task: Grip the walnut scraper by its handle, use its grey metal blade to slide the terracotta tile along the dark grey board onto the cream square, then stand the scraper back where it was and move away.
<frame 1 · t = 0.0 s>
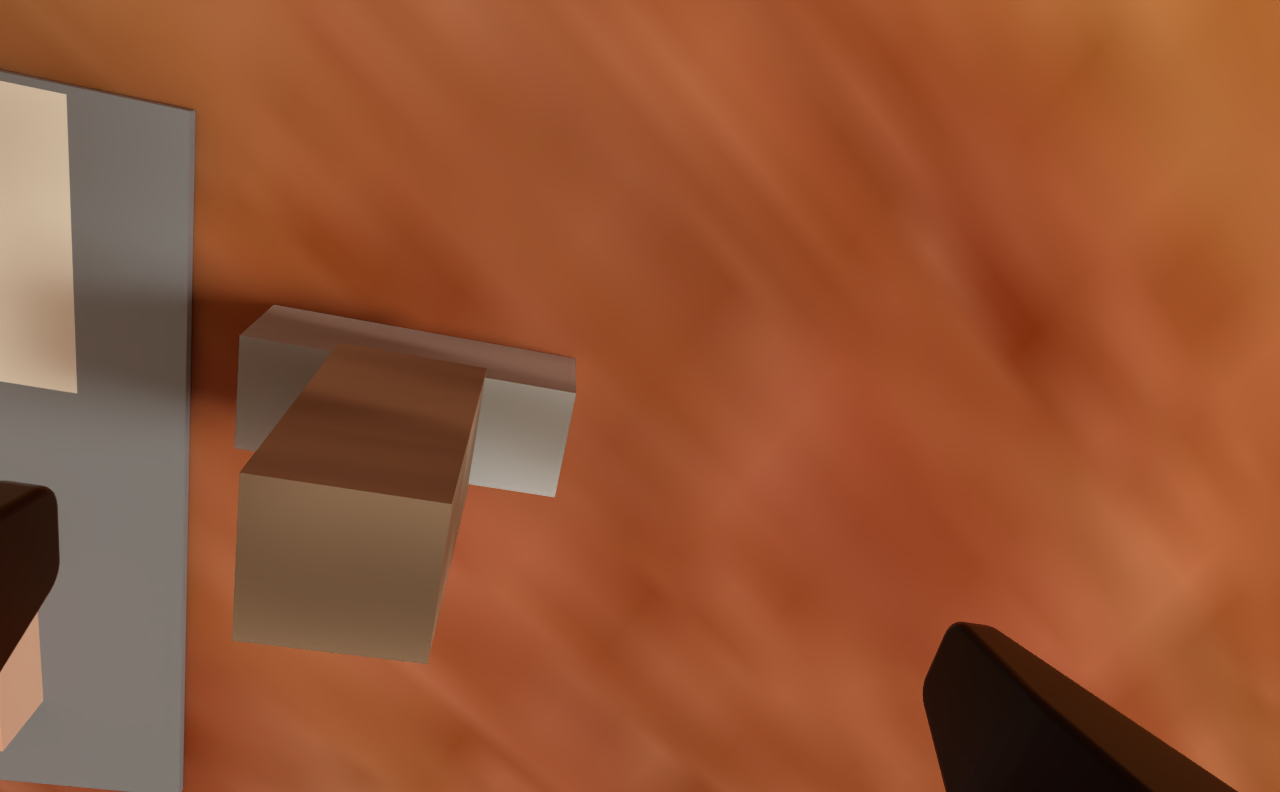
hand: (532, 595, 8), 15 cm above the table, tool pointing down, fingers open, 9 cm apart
scraper: (422, 382, 23), on the table
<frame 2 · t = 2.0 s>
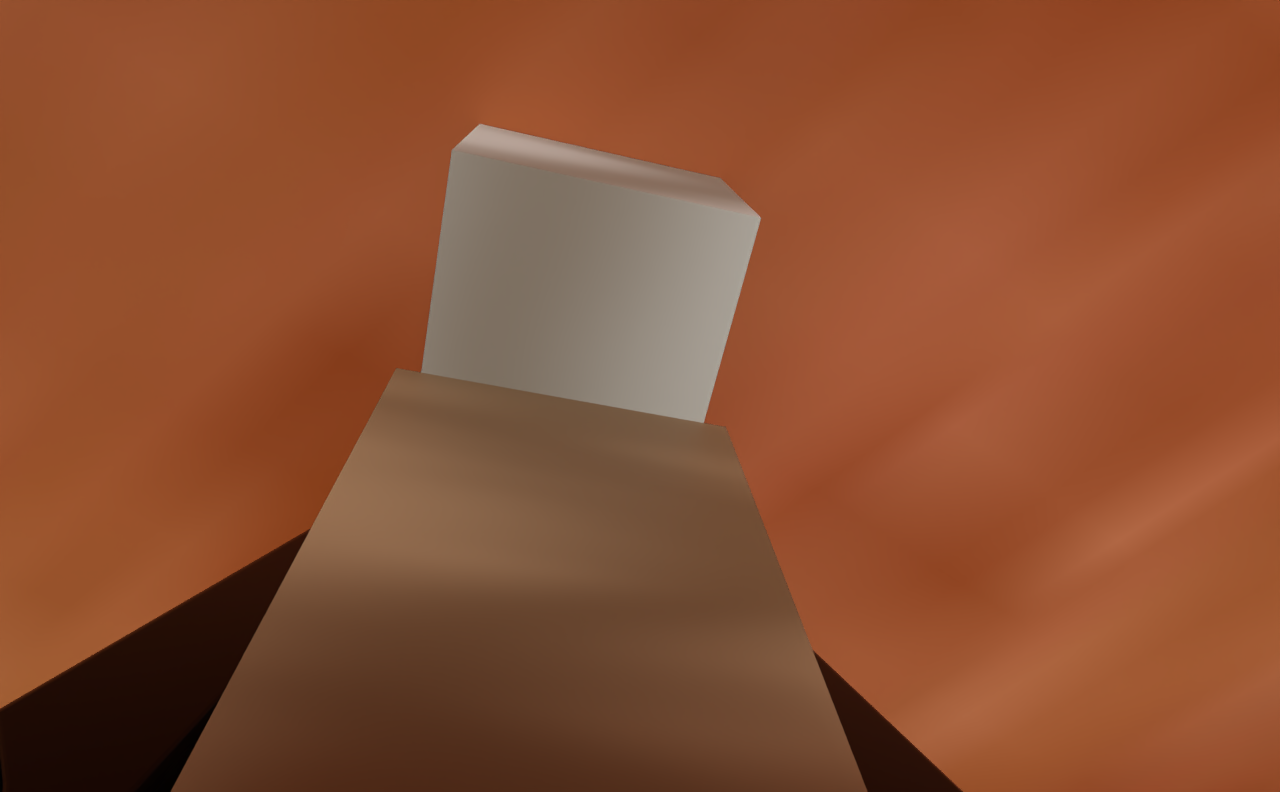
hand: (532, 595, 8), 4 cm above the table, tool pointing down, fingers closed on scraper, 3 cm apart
scraper: (543, 440, 12), on the table, touching gripper
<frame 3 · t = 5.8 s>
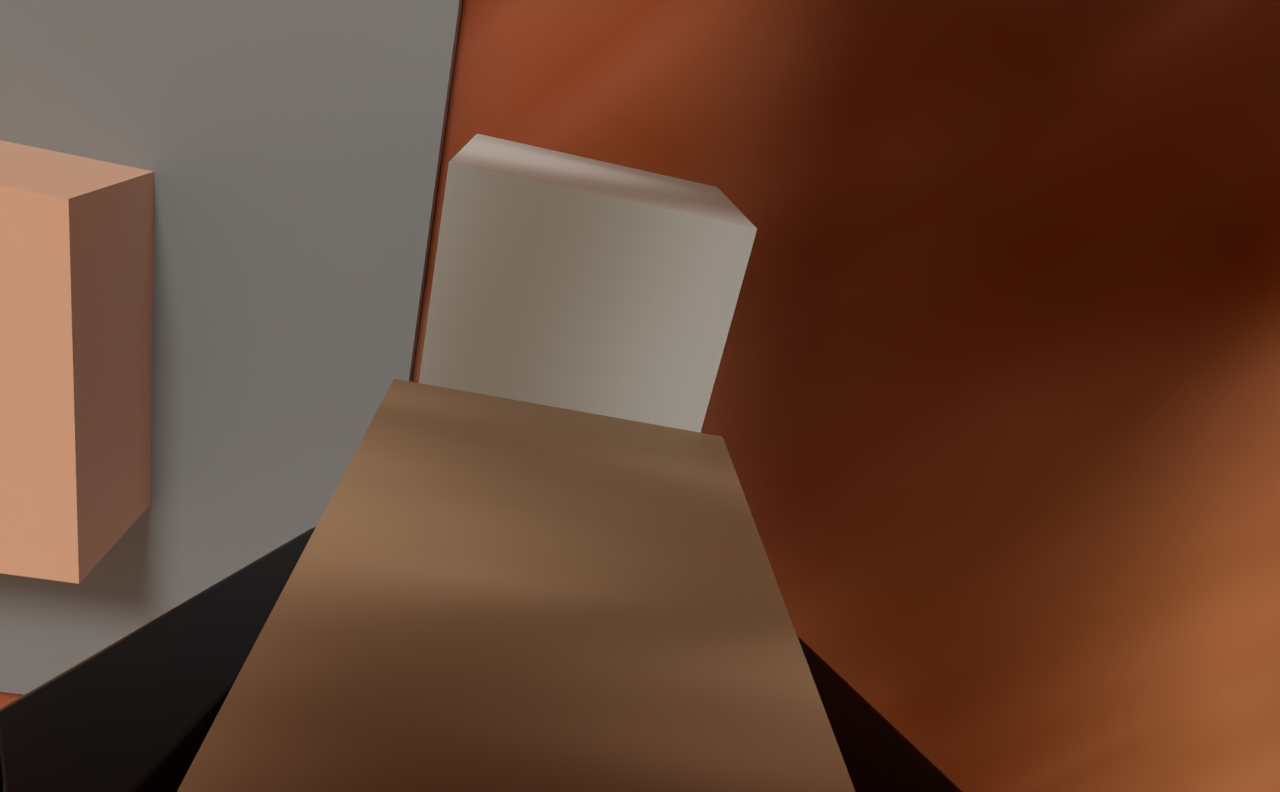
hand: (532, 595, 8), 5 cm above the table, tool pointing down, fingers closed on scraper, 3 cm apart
scraper: (541, 448, 12), point 1 cm above the table, touching gripper
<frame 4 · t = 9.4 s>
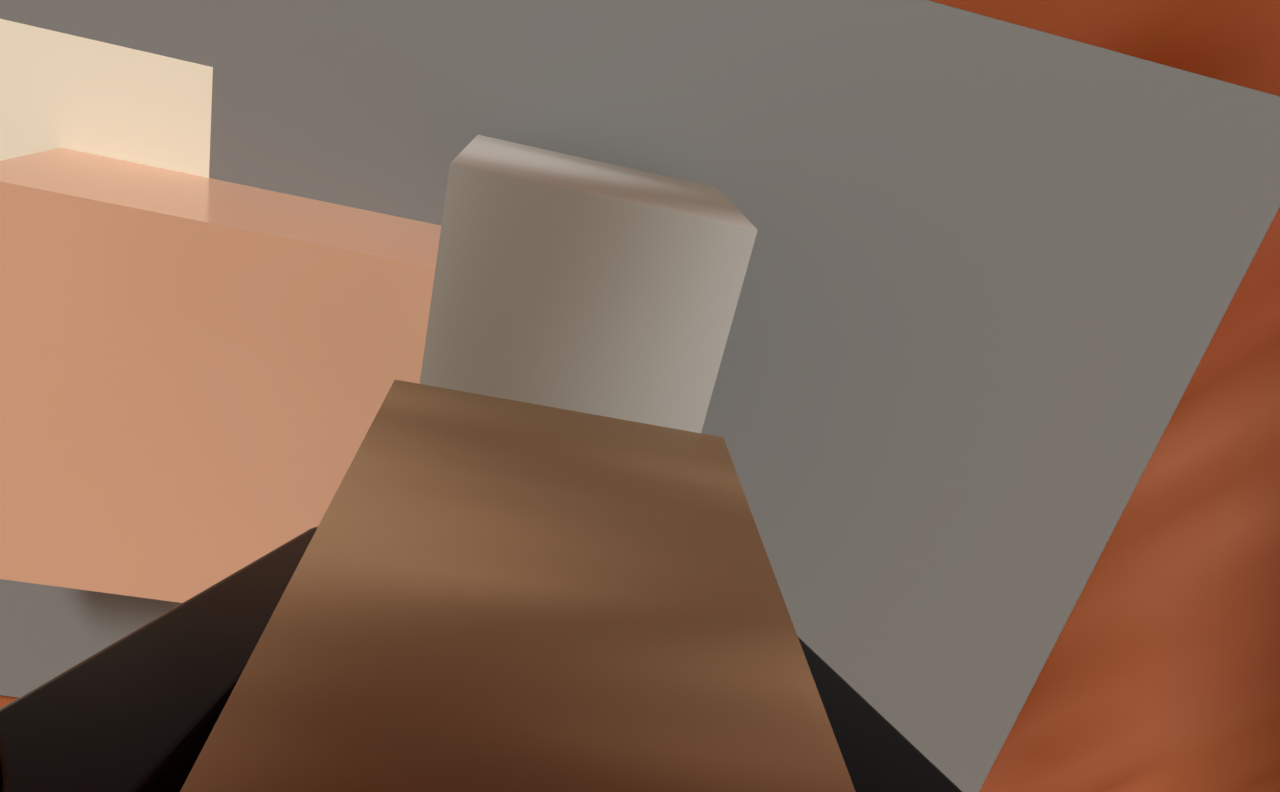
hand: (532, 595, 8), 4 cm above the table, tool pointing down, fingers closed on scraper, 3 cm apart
board: (440, 390, 12), on the table
scraper: (542, 448, 12), point 1 cm above the table, touching gripper
tile: (260, 369, 12), resting on board
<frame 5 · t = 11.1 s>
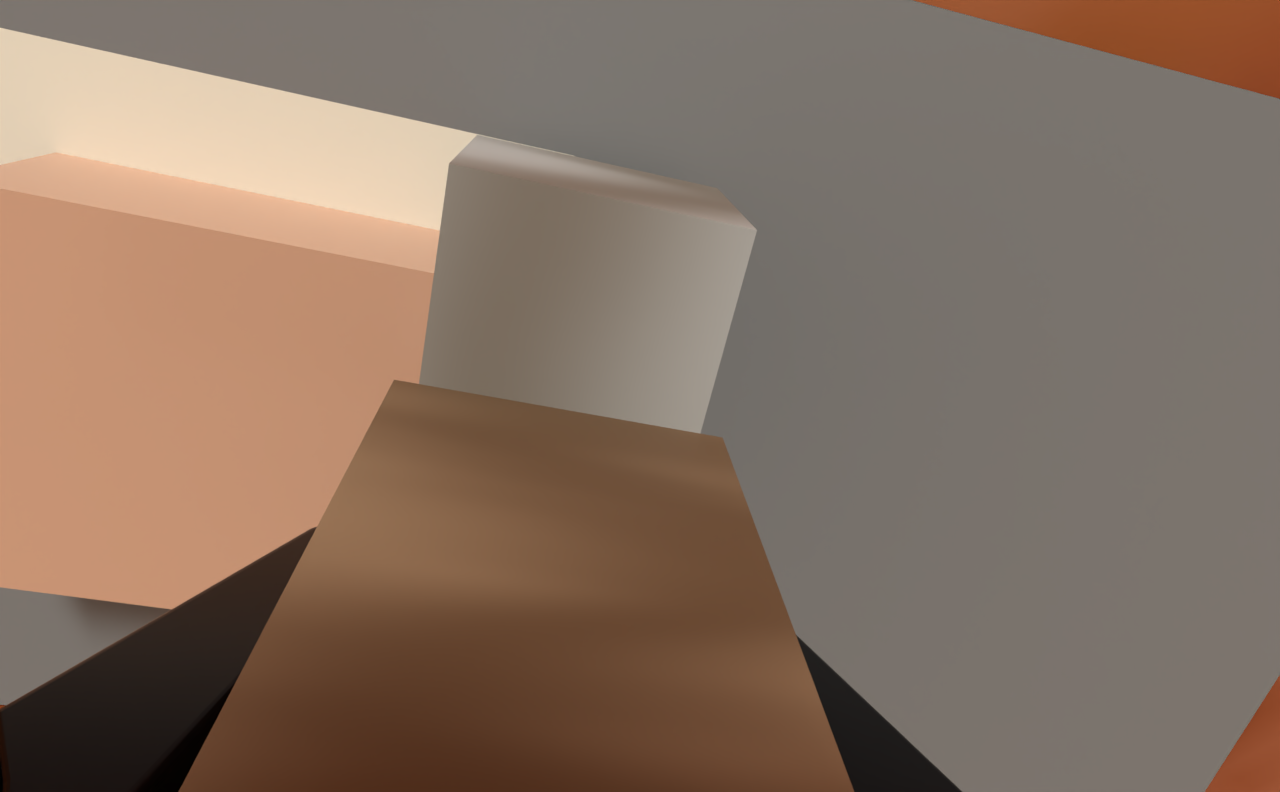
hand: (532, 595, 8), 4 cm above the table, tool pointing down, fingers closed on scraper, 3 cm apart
board: (731, 447, 13), on the table
scraper: (541, 449, 12), point 1 cm above the table, touching gripper, tile
tile: (257, 374, 12), resting on board, touching scraper
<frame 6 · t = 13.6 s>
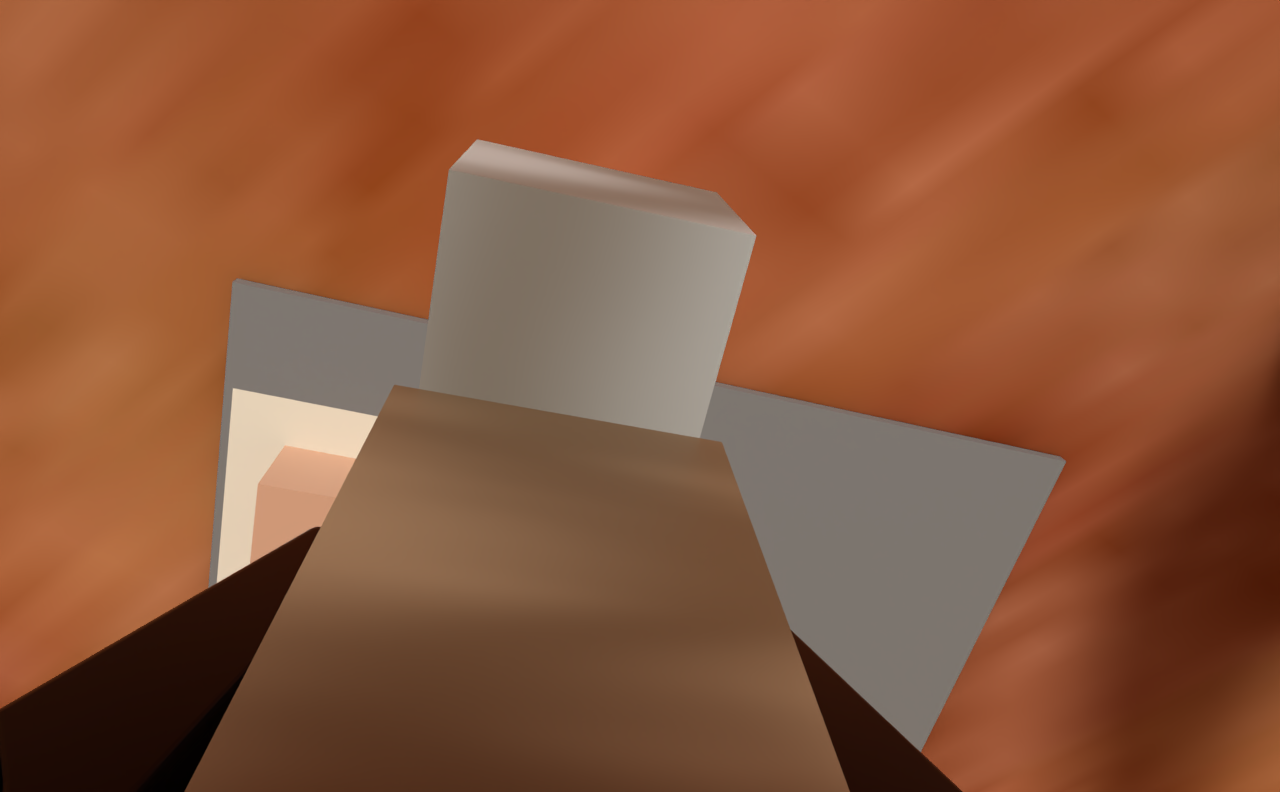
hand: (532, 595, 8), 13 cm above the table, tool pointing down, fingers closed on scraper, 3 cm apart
board: (621, 581, 24), on the table
scraper: (541, 452, 12), point 9 cm above the table, touching gripper
tile: (372, 544, 23), resting on board
when the fingers open (4 cm above the table, at t = 15.8 s): scraper drops 1 cm, on the table.
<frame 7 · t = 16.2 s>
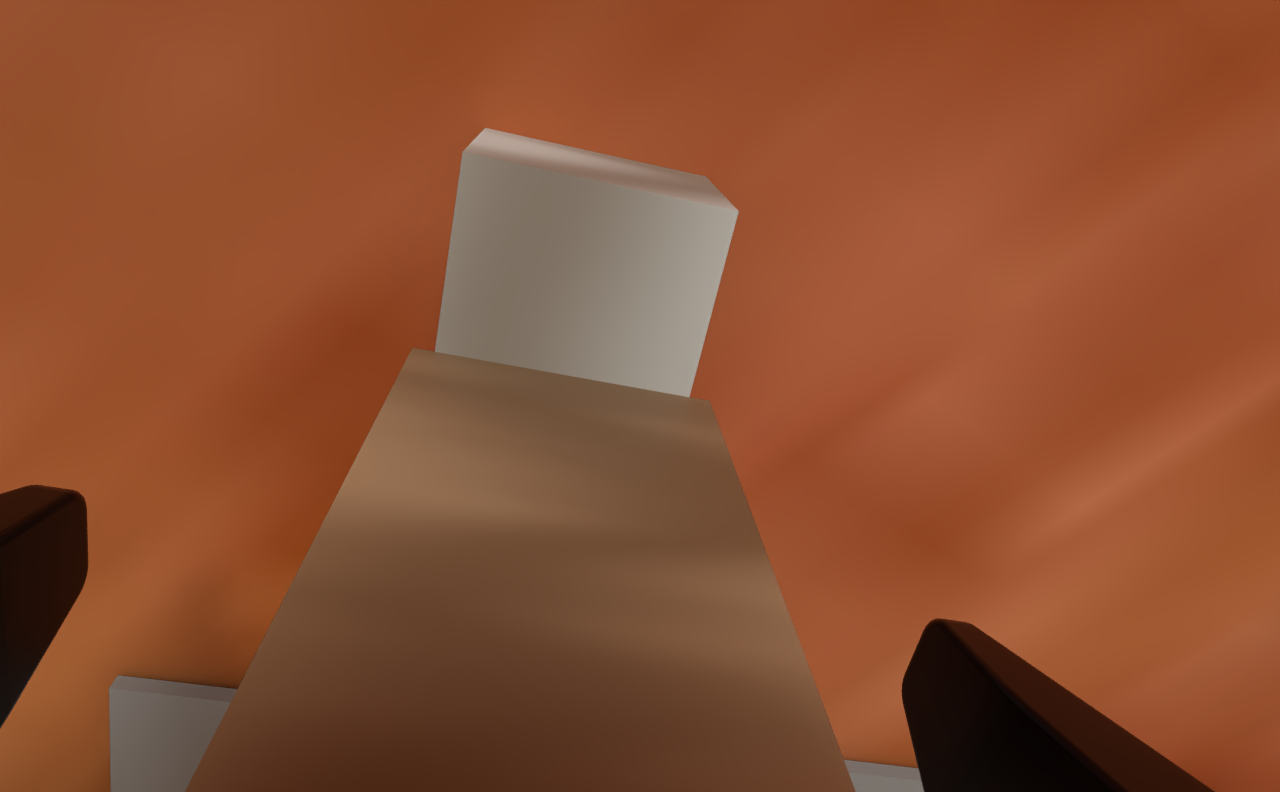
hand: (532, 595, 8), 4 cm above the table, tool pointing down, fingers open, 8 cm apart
scraper: (545, 419, 13), on the table
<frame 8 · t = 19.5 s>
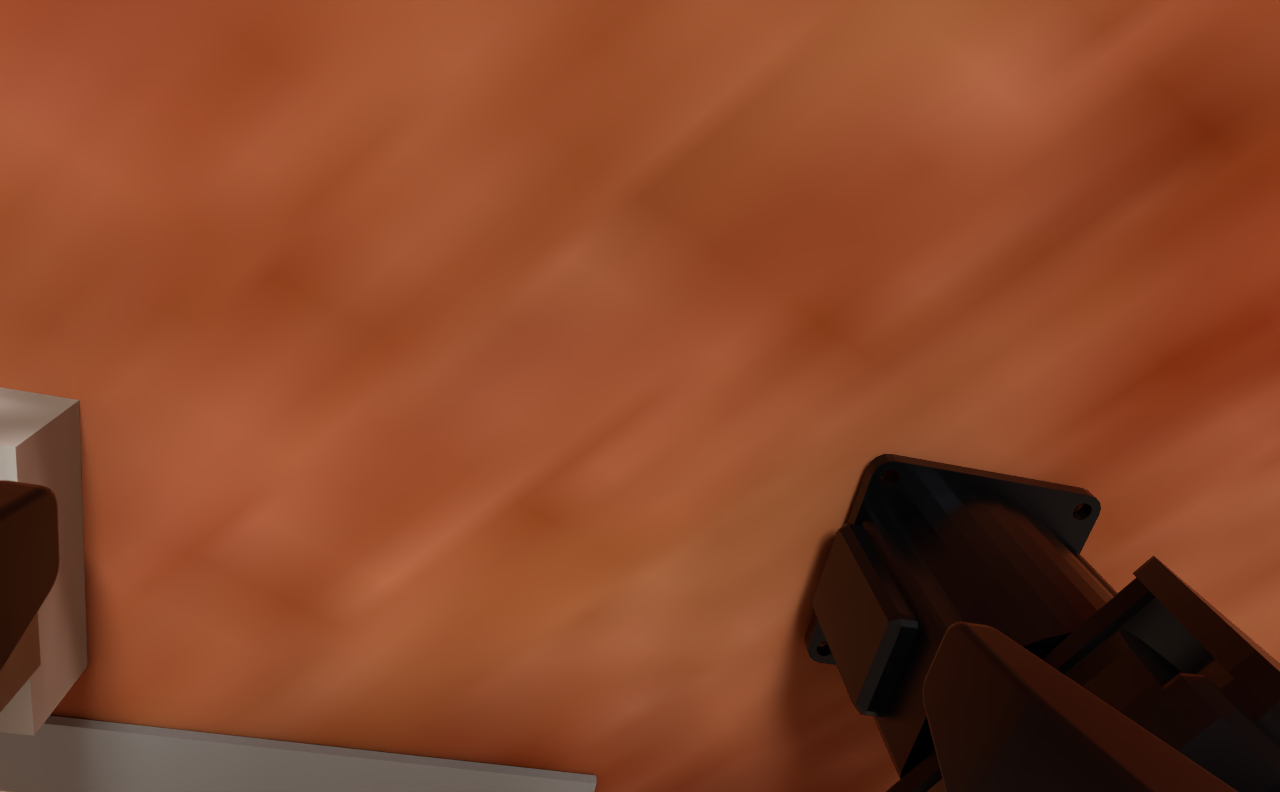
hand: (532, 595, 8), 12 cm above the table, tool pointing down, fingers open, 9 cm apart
scraper: (20, 532, 21), on the table
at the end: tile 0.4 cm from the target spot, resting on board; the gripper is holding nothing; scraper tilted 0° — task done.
